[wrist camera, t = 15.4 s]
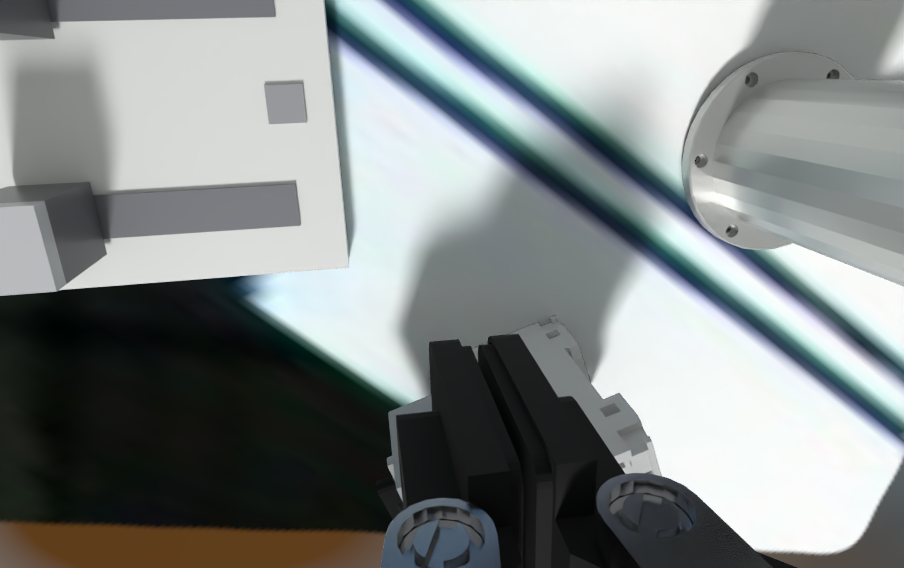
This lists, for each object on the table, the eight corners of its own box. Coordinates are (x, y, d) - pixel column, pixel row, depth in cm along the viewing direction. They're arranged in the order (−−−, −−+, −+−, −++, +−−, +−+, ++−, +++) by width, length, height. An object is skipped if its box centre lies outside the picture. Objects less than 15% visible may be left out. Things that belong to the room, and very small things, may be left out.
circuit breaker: (362, 392, 41) (366, 557, 27) (555, 315, 41) (657, 439, 27) (402, 474, 44) (425, 663, 30) (583, 401, 44) (689, 554, 30)
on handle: (89, 181, 32) (33, 205, 26) (107, 254, 33) (56, 291, 27) (7, 186, 31) (-68, 211, 26) (28, 259, 33) (-39, 298, 27)
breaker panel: (314, -112, 31) (311, -125, 29) (349, 257, 38) (348, 268, 36) (-117, -114, 28) (-153, -129, 26) (4, 283, 35) (-18, 296, 33)
